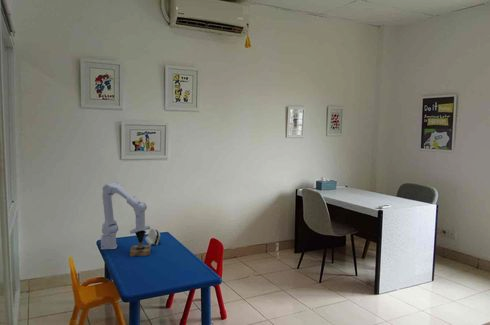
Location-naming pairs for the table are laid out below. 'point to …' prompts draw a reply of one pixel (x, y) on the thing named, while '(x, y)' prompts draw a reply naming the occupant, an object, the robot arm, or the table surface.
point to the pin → (140, 245)
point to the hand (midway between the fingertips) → (140, 242)
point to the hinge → (153, 237)
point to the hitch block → (140, 251)
